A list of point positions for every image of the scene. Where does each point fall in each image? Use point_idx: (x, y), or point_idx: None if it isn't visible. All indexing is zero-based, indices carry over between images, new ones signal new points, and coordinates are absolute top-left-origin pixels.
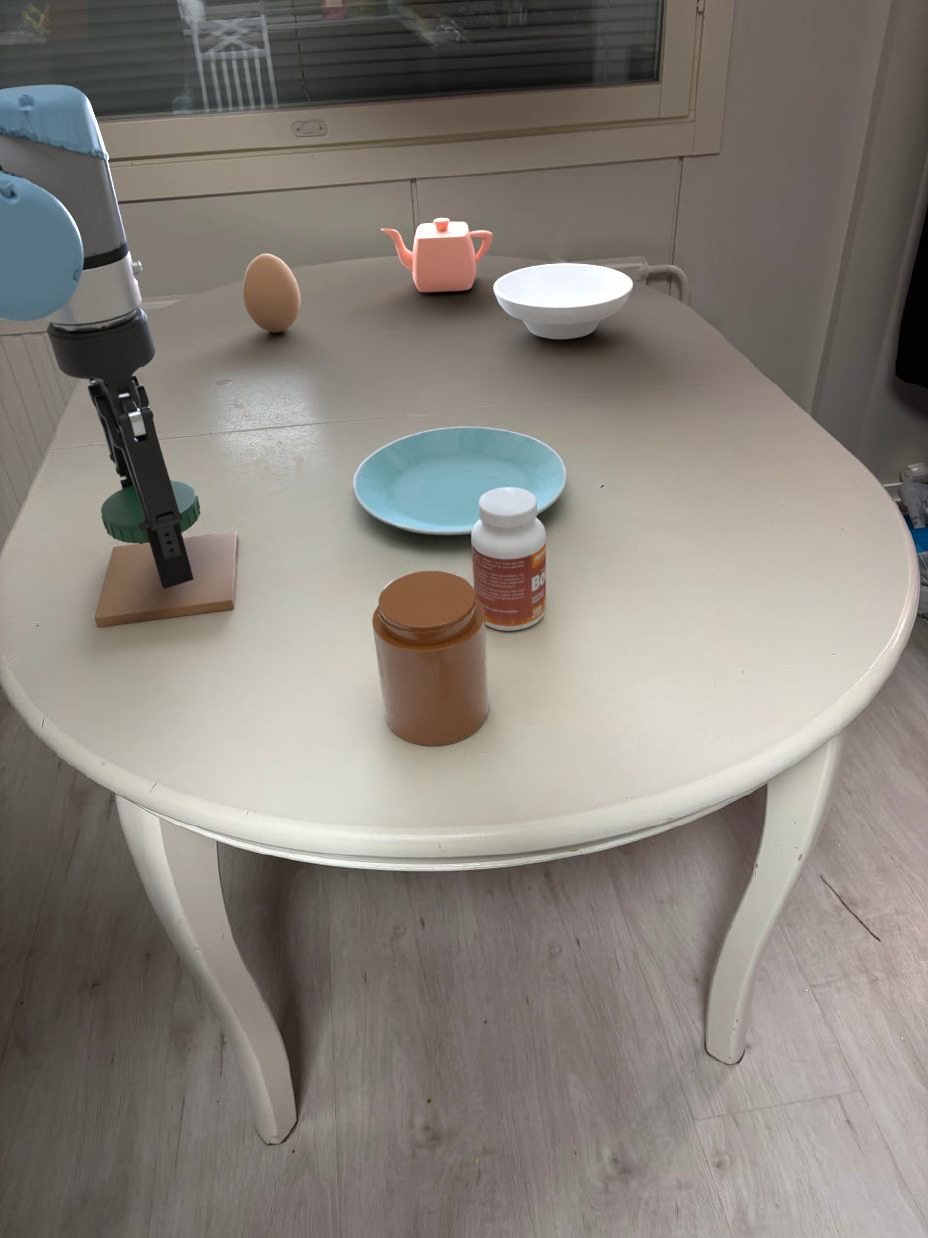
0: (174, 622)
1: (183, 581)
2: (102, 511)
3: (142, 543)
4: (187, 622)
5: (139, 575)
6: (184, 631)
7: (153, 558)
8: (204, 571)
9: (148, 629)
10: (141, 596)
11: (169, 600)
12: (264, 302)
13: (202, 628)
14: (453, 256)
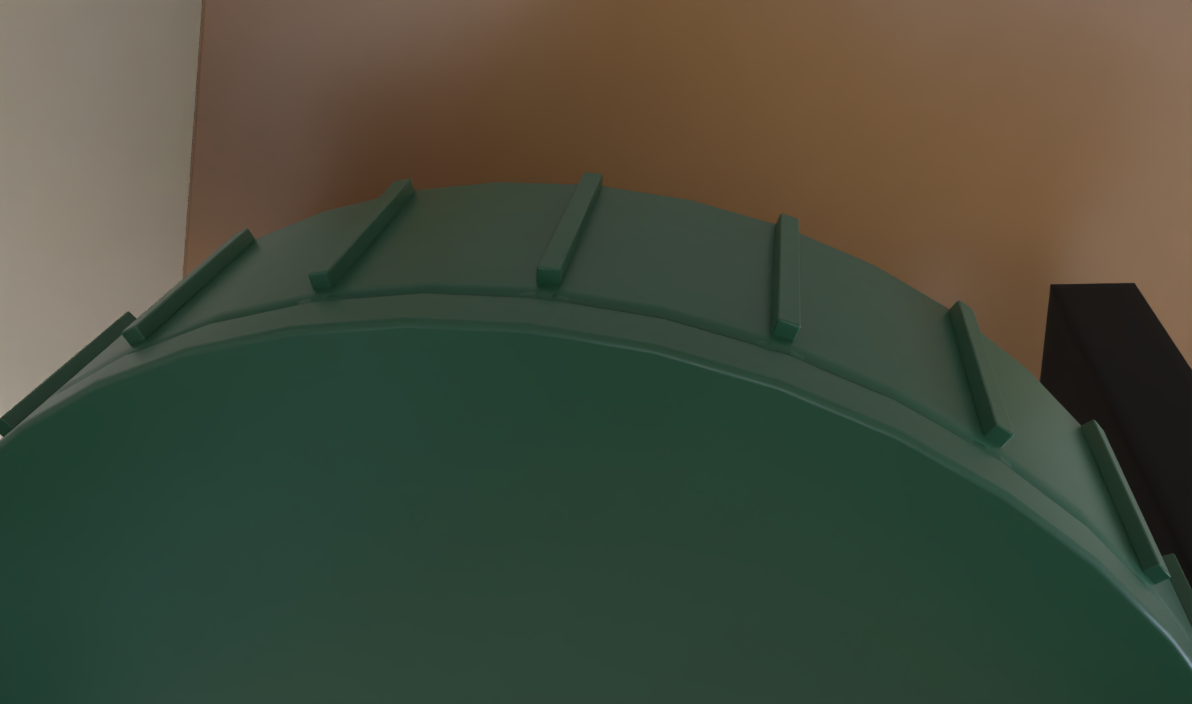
0: (166, 213)
1: None
2: (534, 353)
3: (1052, 306)
4: (143, 282)
5: (738, 137)
6: (54, 244)
7: (946, 290)
8: None
9: (134, 40)
10: (410, 92)
11: None
12: None
13: (60, 340)
14: None
